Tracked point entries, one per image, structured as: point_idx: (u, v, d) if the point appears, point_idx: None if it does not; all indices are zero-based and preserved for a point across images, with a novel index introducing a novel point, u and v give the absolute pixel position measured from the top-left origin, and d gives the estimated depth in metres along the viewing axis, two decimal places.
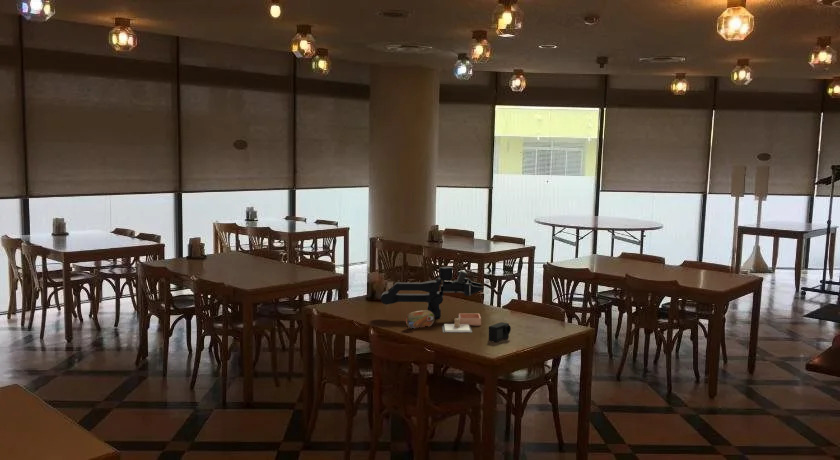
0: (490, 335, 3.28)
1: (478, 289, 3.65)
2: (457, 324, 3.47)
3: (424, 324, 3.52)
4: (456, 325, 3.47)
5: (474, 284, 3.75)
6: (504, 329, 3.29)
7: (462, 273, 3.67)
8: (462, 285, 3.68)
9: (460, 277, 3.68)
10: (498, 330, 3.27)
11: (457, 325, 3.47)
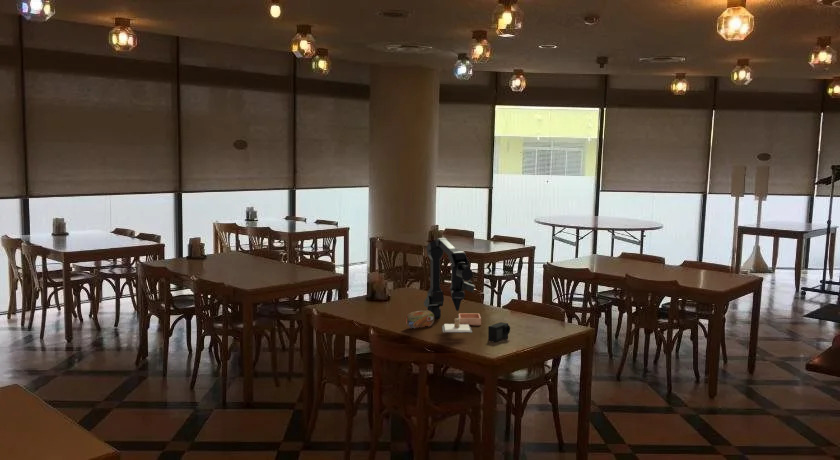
0: (490, 335, 3.28)
1: (457, 305, 3.41)
2: (457, 324, 3.47)
3: (424, 324, 3.52)
4: (456, 325, 3.47)
5: None
6: (504, 329, 3.29)
7: (472, 288, 3.43)
8: (459, 288, 3.43)
9: (468, 286, 3.43)
10: (498, 330, 3.27)
11: (457, 325, 3.47)
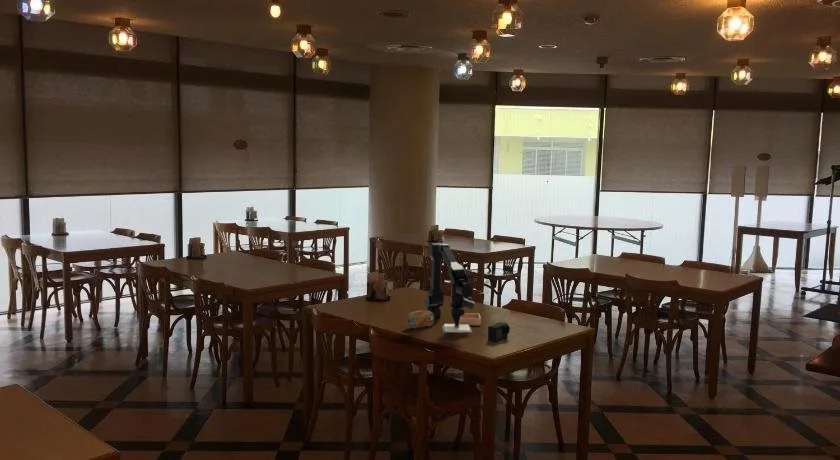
0: (489, 335, 3.27)
1: (456, 321, 3.45)
2: None
3: (424, 324, 3.52)
4: None
5: None
6: (503, 329, 3.29)
7: (472, 305, 3.44)
8: (459, 305, 3.44)
9: (468, 302, 3.44)
10: (497, 330, 3.27)
11: None
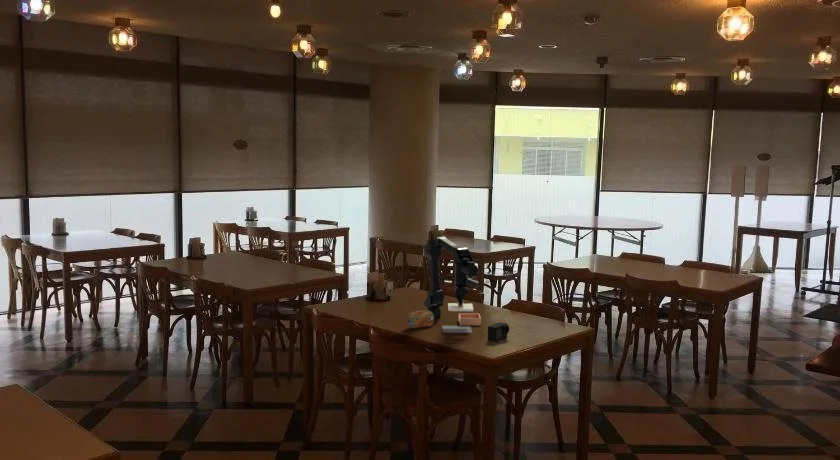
0: (489, 335, 3.27)
1: (460, 300, 3.48)
2: None
3: (424, 324, 3.52)
4: None
5: None
6: (503, 329, 3.29)
7: (476, 284, 3.47)
8: (463, 284, 3.47)
9: (471, 282, 3.47)
10: (497, 330, 3.27)
11: None
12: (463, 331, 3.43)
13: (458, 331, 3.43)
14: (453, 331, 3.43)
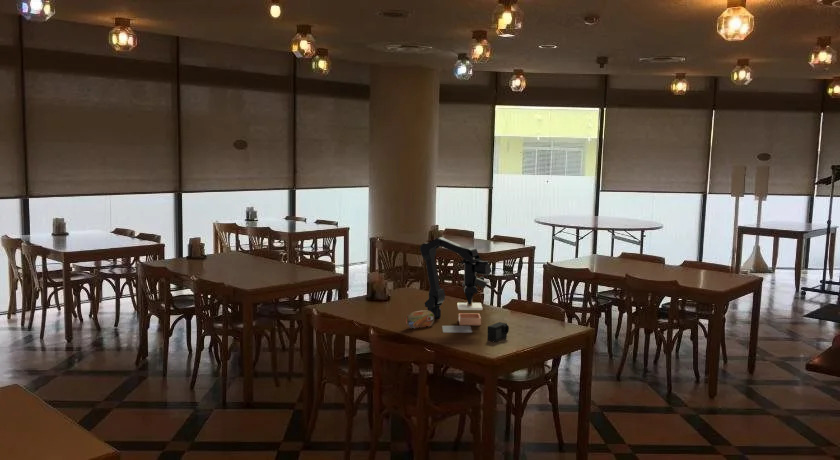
0: (489, 335, 3.27)
1: (469, 299, 3.57)
2: None
3: (424, 324, 3.52)
4: None
5: None
6: (503, 329, 3.29)
7: (484, 283, 3.56)
8: (472, 283, 3.56)
9: (480, 281, 3.56)
10: (497, 330, 3.27)
11: None
12: (463, 331, 3.43)
13: (458, 331, 3.43)
14: (453, 331, 3.43)
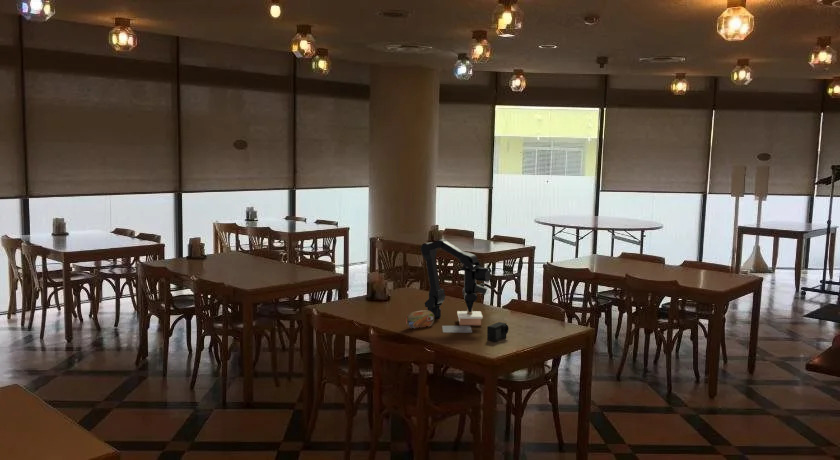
0: (489, 335, 3.27)
1: (469, 307, 3.55)
2: None
3: (424, 324, 3.52)
4: (469, 312, 3.59)
5: None
6: (502, 329, 3.29)
7: (484, 290, 3.56)
8: (472, 290, 3.56)
9: (480, 288, 3.56)
10: (497, 330, 3.27)
11: (470, 312, 3.59)
12: (463, 331, 3.43)
13: (458, 331, 3.43)
14: (453, 331, 3.43)
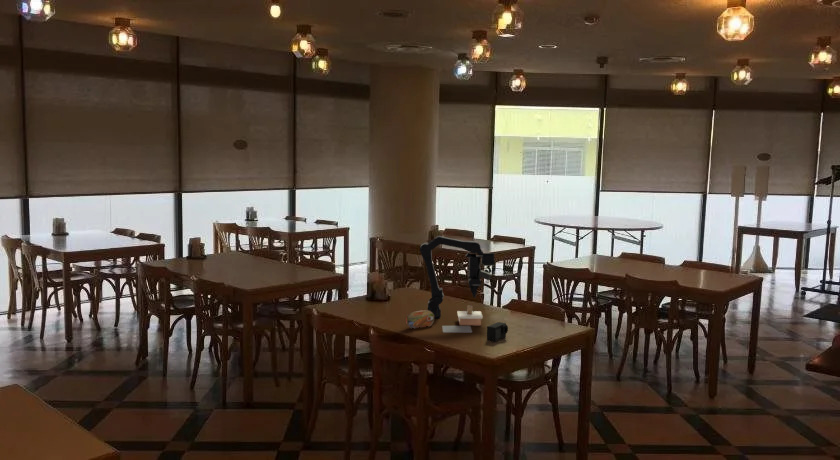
0: (488, 335, 3.27)
1: (474, 292, 3.65)
2: (470, 311, 3.59)
3: (424, 324, 3.52)
4: (469, 312, 3.59)
5: None
6: (502, 329, 3.30)
7: (488, 276, 3.66)
8: (476, 276, 3.66)
9: (484, 274, 3.66)
10: (497, 330, 3.27)
11: (470, 312, 3.59)
12: (463, 331, 3.43)
13: (458, 331, 3.43)
14: (453, 331, 3.43)
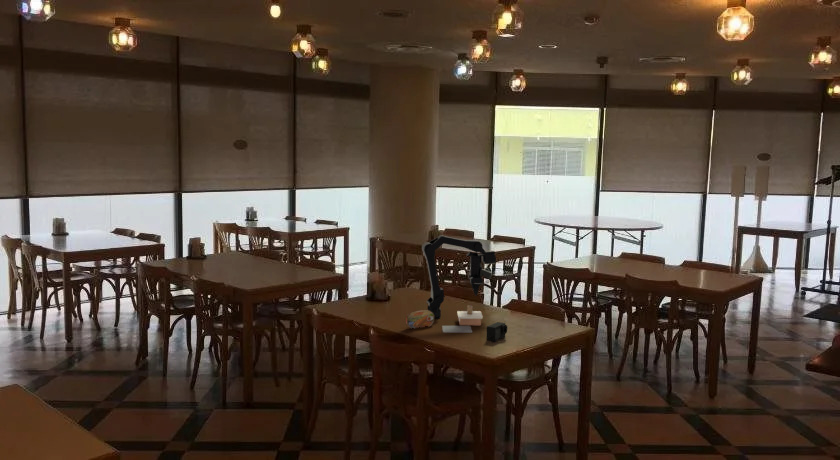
0: (488, 335, 3.27)
1: (475, 290, 3.69)
2: (470, 311, 3.59)
3: (424, 324, 3.52)
4: (469, 312, 3.59)
5: None
6: (501, 329, 3.30)
7: (490, 274, 3.72)
8: (478, 274, 3.71)
9: (486, 272, 3.71)
10: (496, 330, 3.27)
11: (470, 312, 3.59)
12: (463, 331, 3.43)
13: (458, 331, 3.43)
14: (453, 331, 3.43)
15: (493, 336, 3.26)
